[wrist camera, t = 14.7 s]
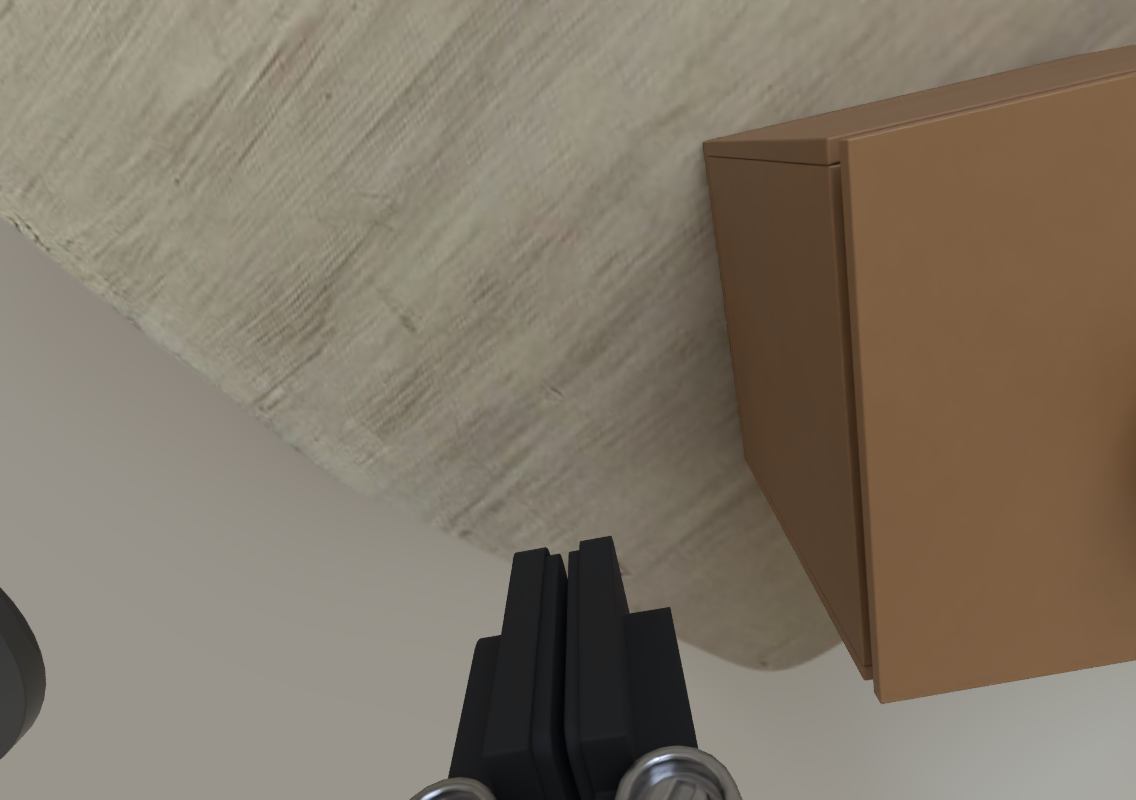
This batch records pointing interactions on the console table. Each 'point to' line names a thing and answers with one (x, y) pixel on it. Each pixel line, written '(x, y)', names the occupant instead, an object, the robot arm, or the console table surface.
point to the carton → (822, 313)
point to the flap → (996, 387)
